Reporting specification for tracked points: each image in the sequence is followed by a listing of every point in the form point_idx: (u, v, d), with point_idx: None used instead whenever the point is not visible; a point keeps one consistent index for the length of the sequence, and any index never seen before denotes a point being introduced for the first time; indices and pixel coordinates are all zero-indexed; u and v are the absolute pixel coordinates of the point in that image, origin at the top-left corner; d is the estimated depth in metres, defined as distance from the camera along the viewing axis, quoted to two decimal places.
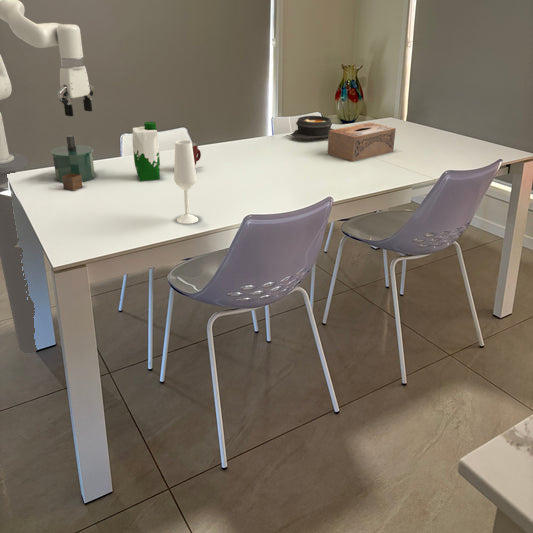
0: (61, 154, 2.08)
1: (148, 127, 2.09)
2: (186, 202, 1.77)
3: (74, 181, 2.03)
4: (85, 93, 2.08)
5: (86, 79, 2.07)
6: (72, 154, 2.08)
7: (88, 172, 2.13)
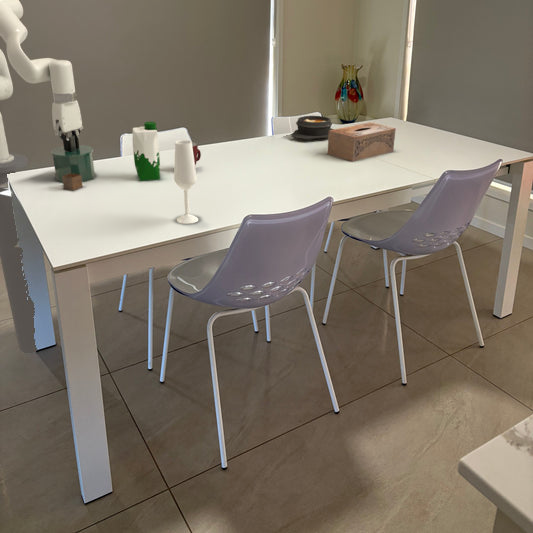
0: (61, 154, 2.08)
1: (148, 127, 2.09)
2: (186, 202, 1.77)
3: (74, 181, 2.03)
4: (77, 126, 2.11)
5: (78, 113, 2.09)
6: (72, 154, 2.08)
7: (88, 172, 2.13)
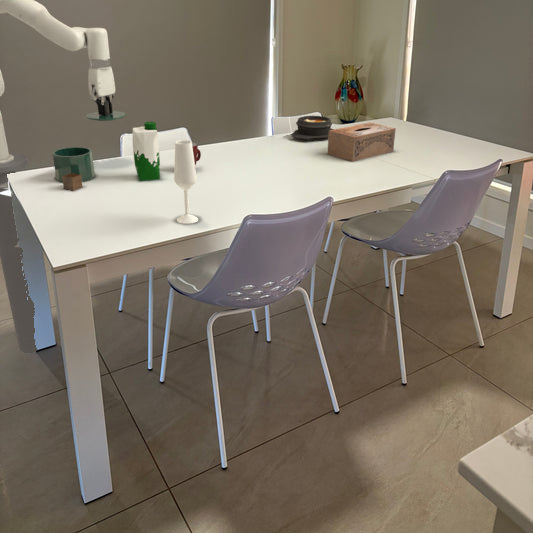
0: (96, 117, 2.20)
1: (148, 127, 2.09)
2: (186, 202, 1.77)
3: (74, 181, 2.03)
4: (111, 92, 2.23)
5: (112, 79, 2.21)
6: (107, 117, 2.20)
7: (88, 172, 2.13)
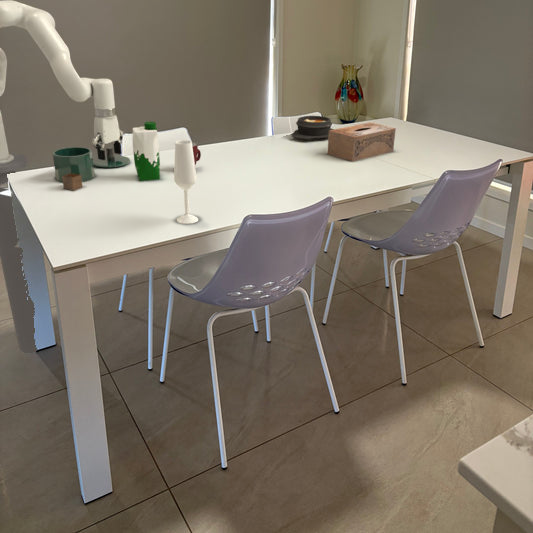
0: (102, 164, 2.28)
1: (148, 127, 2.09)
2: (186, 202, 1.77)
3: (74, 181, 2.03)
4: (116, 138, 2.31)
5: (117, 126, 2.29)
6: (112, 164, 2.28)
7: (88, 172, 2.13)
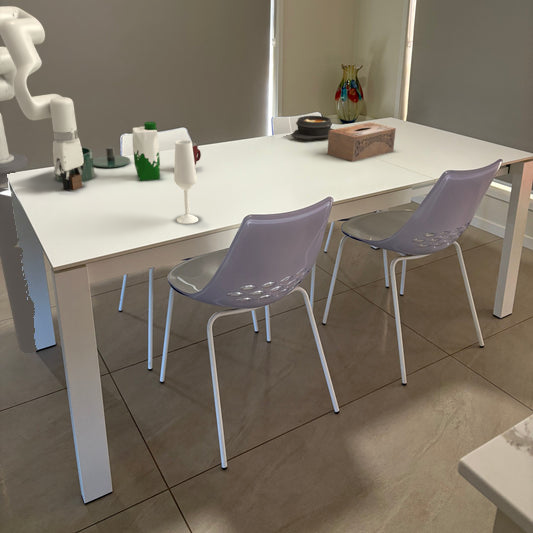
0: (102, 164, 2.28)
1: (148, 127, 2.09)
2: (186, 202, 1.77)
3: (74, 181, 2.03)
4: (79, 164, 2.04)
5: (80, 150, 2.03)
6: (112, 164, 2.28)
7: (88, 172, 2.13)
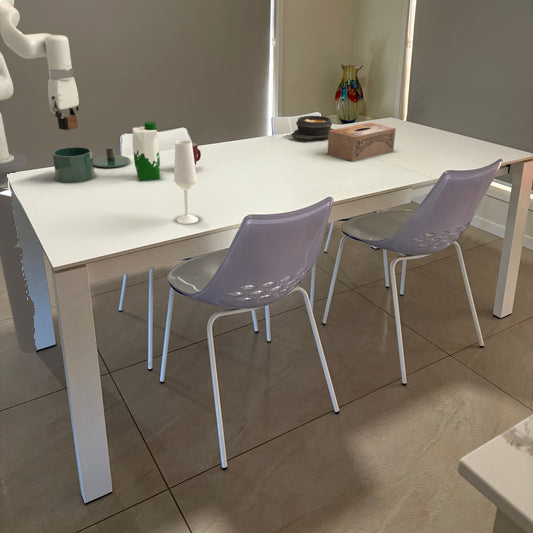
0: (102, 164, 2.28)
1: (148, 127, 2.09)
2: (186, 202, 1.77)
3: (69, 120, 2.05)
4: (74, 104, 2.06)
5: (75, 90, 2.05)
6: (112, 164, 2.28)
7: (88, 172, 2.13)
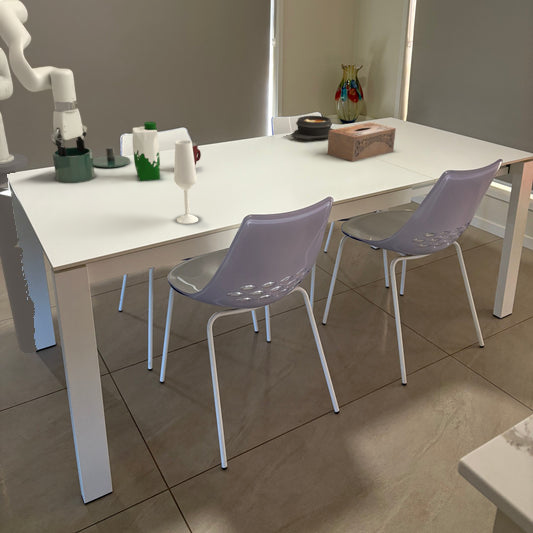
0: (102, 164, 2.28)
1: (148, 127, 2.09)
2: (186, 202, 1.77)
3: None
4: (78, 134, 2.12)
5: (79, 121, 2.11)
6: (112, 164, 2.28)
7: (88, 172, 2.13)
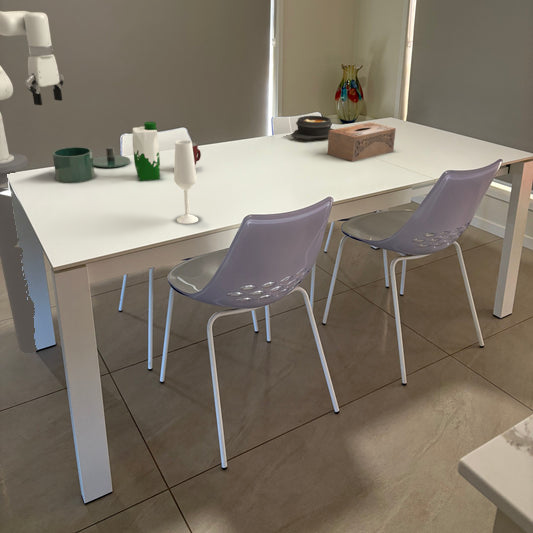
0: (102, 164, 2.28)
1: (148, 127, 2.09)
2: (186, 202, 1.77)
3: None
4: (54, 82, 2.07)
5: (55, 68, 2.06)
6: (112, 164, 2.28)
7: (88, 172, 2.13)
